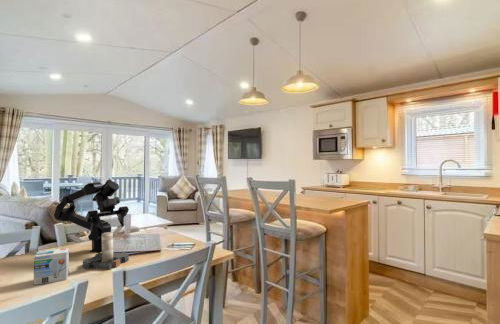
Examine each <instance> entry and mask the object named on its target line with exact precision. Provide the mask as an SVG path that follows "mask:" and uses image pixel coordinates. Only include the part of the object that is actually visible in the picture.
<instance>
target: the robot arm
mask: <svg viewBox="0 0 500 324" xmlns="http://www.w3.org/2000/svg"><path fill="white" fill-rule="evenodd" d="M119 189H120V185H119V184H118V183H117V182H116V181H113V180H111V179H107V180H106V182H105V183H104V184H103V183H101V182H100V181H97V182H89V183H87V184H85V185H84V186H83V187H82V188H81V189H79V190H77V191H75V192H73V193H70V194H68V195H64V196H63V197H62V198H61V200H60V202H59V204H58V205H57V206H56V207H55V210H54V213H53V216H54V219H55V220H56V221H60V222H70V223H73V224H75V225H77V226H80V227H81V228H84V229H86V230H88V231H89V232H90V233H89V234H88V235H87V236H88V237H87V238H88V240H89V241H91V249H90V250H89V252H90V253H91V252H92V253H102V234H103V233H107V232H112V226H111V223H109V221H106V220H104V219H101V217H109V216H111V217H112V216H115V215H116V216H117V220H118V222H119V224H120V226H121V227H122V228H123V227H124V221H125V217H127V215H128V212H129V210H130V209H129V206H126V205H125V206H119V207H118V210H115V209H116V206H117V205H119V204H120V203H121V200H120V197H118V196H115V197H114V198H112V197H113V195H115V193H116V192H117V191H118V190H119ZM91 195H94V196H93V198H92V200H91V201H92V202H96V204H97V210H96V209H94V210H88V211H87V213H86V216H84V215H80V214H78V213H76V210H75V209H76V205H75V203H76V202H77V201H78V200H81V199H83V198H86V197H87V196H91ZM109 197H111V198H109ZM68 204H69V206H68V207H66V206H67V205H68Z"/></svg>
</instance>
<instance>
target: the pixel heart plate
mask: <svg viewBox="0 0 500 324" xmlns="http://www.w3.org/2000/svg"><path fill="white" fill-rule="evenodd" d="M129 256H130V255H129V253H128V252H123V251H122V252H114V251H113V261H112V262H110V263H103V262H102V252H97V253H96V254H95V255H94V256H92V257H87V258H85V259H83V261H82V269H84V270H91V269H95V270H96V269H97V270H109V271H110V270H111V269H114V268H119V267H120V266H121V264H123V263H127V262H129V260H130V259H129V258H130V257H129Z"/></svg>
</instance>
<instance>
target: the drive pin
mask: <svg viewBox="0 0 500 324" xmlns="http://www.w3.org/2000/svg"><path fill="white" fill-rule="evenodd" d="M113 252H114V233H113V232H112V231H111V232H107V233H103V234H102V252H101V253H102V262H103V263H110V262H112V261H113Z"/></svg>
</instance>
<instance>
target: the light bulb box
mask: <svg viewBox="0 0 500 324" xmlns="http://www.w3.org/2000/svg"><path fill="white" fill-rule="evenodd" d="M69 251H70V248H69V247H65V248H57V249H56V248H55V249H49V250H40V251H37V252H36V253H35V255H34V256H33V285H34V286H36V285H42V284H49V283H50V284H51V283H54V282H62V281H67V280H68V276H69V274H70V270H69V269H70V267H69V266H70V265H69V264H70V257H69V256H70V255H69Z"/></svg>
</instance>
